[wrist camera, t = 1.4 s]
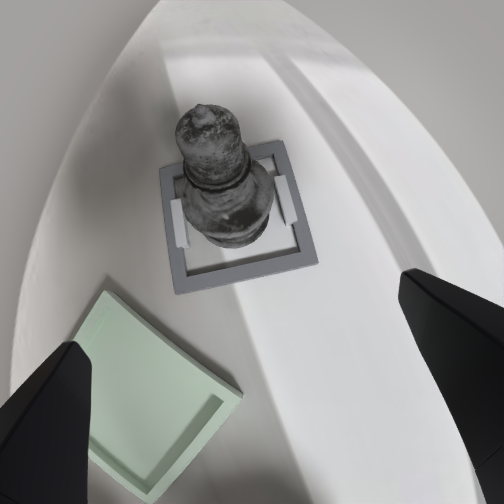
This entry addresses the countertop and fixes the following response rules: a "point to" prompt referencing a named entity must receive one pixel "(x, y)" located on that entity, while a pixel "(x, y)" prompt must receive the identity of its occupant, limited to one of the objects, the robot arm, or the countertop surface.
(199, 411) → the tray
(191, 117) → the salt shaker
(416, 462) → the countertop surface
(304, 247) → the socket
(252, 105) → the countertop surface
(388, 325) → the countertop surface
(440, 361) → the robot arm
